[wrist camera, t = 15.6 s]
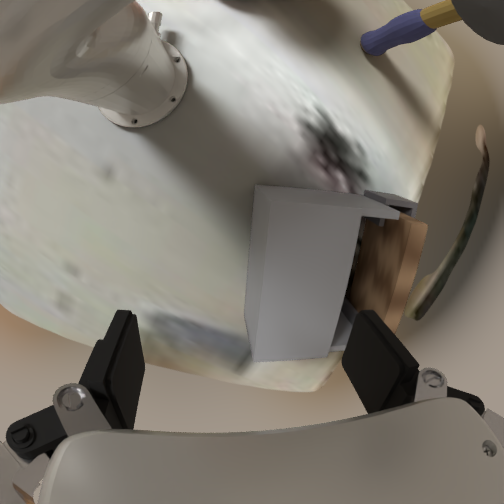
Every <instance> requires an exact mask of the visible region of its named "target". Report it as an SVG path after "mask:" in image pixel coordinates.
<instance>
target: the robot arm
mask: <svg viewBox="0 0 504 504" xmlns="http://www.w3.org/2000/svg"><path fill="white" fill-rule="evenodd" d="M161 20H162V13H160V12H150V13H149V14H148V16H147V14H146V12H145V11H144V9H143V8H142V7H141V6H140V5H139V3H137V2H136V1H135V0H0V104H6V103H11V102H16V101H21V100H26V99H31V98H35V97H42V96H52V97H59V98H64V99H69V100H73V101H78V102H82V103H86V104H90V105H93V106H97V107H98V108H99V110H100V111H101V113H102V114H103V115H104V116H105V117H106V118H107V119H108V120H109V121H111V122H113V123H115V124H117V125H120V126H123V127H143V126H148V125H151V124H153V123H156V122H158V121H159V120H161V119H163V118H164V117H166V116H167V115H168V114H169V113H171V112H172V111H173V110H174V108H175V107H176V106H177V105H178V104H179V102H180V100H181V99H182V97H183V95H184V92H185V90H186V86H187V82H188V71H187V66H186V63H185V60H184V58H183V56H182V55H181V53H180V52H179V51H178V50H177V49H176V48H175V47H174V46H173V45H171V44H169V43H168V42H165V41H163V40H161V39H160V37H161V34H160V33H159V32H158V31H159V26H160V25H161ZM177 60H180V62H178V63H177V62H176V61H177ZM172 99H175V102H172ZM135 120H138V122H137V123H136V124H135ZM342 366H343V368H344V370H345V372H346V373H347V375H348V377H349V379H350V381H351V383H352V384H353V386H354V388H355V390H356V392H357V394H358V396H359V398H360V399H361V401H362V403H363V405H364V407H365V409H366V411H367V413H368V414H366V415H362V416H358V417H353V418H348V419H343V420H338V421H333V422H327V423H321V424H315V425H309V426H302V427H294V428H286V429H277V430H266V431H251V432H231V433H186V432H185V433H184V432H183V433H182V432H161V431H148V430H133V428H134V423H135V417H136V411H137V406H138V401H139V396H140V391H141V386H142V381H143V376H144V372H145V362H144V357H143V352H142V346H141V341H140V335H139V329H138V323H137V317H136V315H135V314H132V312H131V311H130V310H117V311H116V313H115V316H114V318H113V320H112V322H111V324H110V326H109V328H108V331H107V333H106V335H105V337H104V339H103V340H100V339H99V340H98V341H97V342H96V344H95V347H94V349H93V351H92V353H91V356H90V358H89V360H88V362H87V364H86V367H85V369H84V372H83V374H82V376H81V379H80V381H79V384H76V383H70V384H66V385H64V386H61V387H60V388H59V389H57V390H56V392H55V394H54V395H53V404H54V405H52V406H50V407H48V408H45V409H43V410H41V411H39V412H37V413H34V414H32V415H30V416H28V417H26V418H23V419H21V420H18V421H16V422H14V423H13V424H11V425H10V427H9V428H8V430H7V433H6V441H5V442H4V443H2V442H1V441H0V504H35V503H34V500H33V493H34V491H35V489H36V488H37V487H38V486H39V485H40V483H39V481H40V480H41V479H42V478H43V482H42V486H41V490H40V495H39V500H38V504H504V418H503V417H501V416H499V415H498V414H496V413H494V412H493V411H491V410H489V409H487V410H486V411H485V408H484V404H483V402H482V401H481V400H480V398H479V397H477V396H475V395H472V394H469V393H466V392H463V391H460V390H457V389H454V388H451V387H448V386H447V379H446V377H445V376H444V374H443V373H442V372H440V371H439V370H436V369H434V368H424V369H422V370H421V371H419V370H418V367H419V364H418V362H417V361H416V360H415V359H414V357H413V356H412V355H411V354H410V353H409V351H408V350H407V349H406V348H405V346H403V344H402V343H401V342H400V340H399V339H398V338H397V337H396V336H395V334H394V333H393V332H392V331H391V330H390V328H389V327H388V326H387V325H386V324H385V323H384V321H383V320H382V319H381V318H380V317H379V316H378V314H377V313H376V312H375V311H374V310H361V311H360V312H359V314H357V315H356V317H355V320H354V323H353V327H352V330H351V333H350V336H349V339H348V342H347V345H346V348H345V351H344V354H343V357H342Z"/></svg>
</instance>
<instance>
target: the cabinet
mask: <svg viewBox="0 0 504 504" xmlns="http://www.w3.org/2000/svg"><path fill="white" fill-rule="evenodd" d="M388 205H389V206H388ZM417 205H418V203H415V202H413V201H410V200H408V199H405V198H402V197H400V196H397V195H394V194H388V193H381V192H375V191H368V190H365V192H364V195H358V194H350V193H342V192H333V191H324V190H314V189H304V188H293V187H281V186H268V185H255V188H254V200H253V212H252V224H251V236H250V248H249V260H248V272H247V284H246V296H245V309H244V317H245V322H246V327H247V332H248V337H249V342H250V347H251V352H252V357H253V362H268V361H287V360H301V359H313V358H323V357H327V356H328V353H329V352H334V351H344V350H345V348H346V345H347V342H348V339H349V336H350V333H351V330H352V327H353V323H354V320H355V317H356V315H357V314H359V313H358V312H357V310H356V309H355V308H354V307H353V305H352V304H351V303H350V302H349V300H348V299H347V298H346V297H345V293H346V289H347V285H348V280H349V276H350V272H351V267H352V263H353V258H354V254H355V249H356V244H357V239H358V234H359V228H360V223H361V217H364V218H366V219H368V220H369V221H371V222H373V223H375V224H376V225H378V226H384V222H385V218H387V219H396V220H399V215H400V212H402V213H404V214H406V215H408V216H410V217H412V218H414V219H415V215H416V210H417Z"/></svg>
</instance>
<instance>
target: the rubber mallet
mask: <svg viewBox="0 0 504 504" xmlns="http://www.w3.org/2000/svg"><path fill="white" fill-rule="evenodd" d="M460 20H463V21H464V22H465V23H466V24H467V25H468V26H469V27H470V28H471V29H472V30H473V31H474V32H475V33H477V34H478V35H480V36H481V37H483V38H484V39H486V40H488V41H491V42H493V43H496V44H500V45H504V0H445V1H443V2H440V3H437V4H435V5H432V6H430V7H427V8H425V9H417V10H413V11H410V12H407V13H404V14H402V15H400V16H398V17H396V18H394V19H392V20H391V21H390V22H389V23H387V24H386V25H385V26H383V27H381V28H379V29H377V30H375V31H369V32H367V33H365V34H363V35H362V37H361V41H360V45H361V48H362V49H363V50H364V51H365V52H366V53H368V54H371V55H374V56H379V55H381V54H383V53H385V52H386V51H387V50H388V49H390V48H392V47H395V46H397V45H401V44H406V43H411V42H414V41H417V40H419V39H421V38H423V37H425V36H427V35H429V34H431V33H433V32H434V31H435V30H436V29H437V28H439V27H441V26H444V25H447V24H451V23H454V22H457V21H460Z"/></svg>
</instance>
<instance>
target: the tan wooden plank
mask: <svg viewBox="0 0 504 504" xmlns="http://www.w3.org/2000/svg"><path fill="white" fill-rule="evenodd" d="M427 228H428V225H427V224H425V223H423V222H421V221H419V220H417V219H414V218H412V217H410V216H408V215H406V214H404V213H402V212H400V215H399V220H396V219H387V218H385V222H384V226H378V225H376V224H375V223H373V222H371V221H369V220H368V219H366V221H365V227H364V232H363V237H362V242H361V247H360V252H359V257H358V261H357V266H356V270H355V274H354V278H353V283H352V287H351V291H350V295H349V299H348V300H349V302H350V303H351V304H352V305H353V307H354V308H355V309H356V310H357V312H358V313H359V312H360V311H361V310H374V311H375V312H376V313H377V314H378V316H379V317H380V318H381V319H382V320H383V321H384V323H385V324H386V325H387V326H388V327H389V328H390V330H391V331H392V332H393V333H394V334H395V333H396V330H397V327H398V325H399V322H400V320H401V317H402V314H403V311H404V309H405V306H406V303H407V300H408V297H409V294H410V291H411V288H412V284H413V281H414V278H415V275H416V271H417V268H418V264H419V260H420V257H421V253H422V249H423V245H424V241H425V237H426V233H427Z"/></svg>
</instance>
